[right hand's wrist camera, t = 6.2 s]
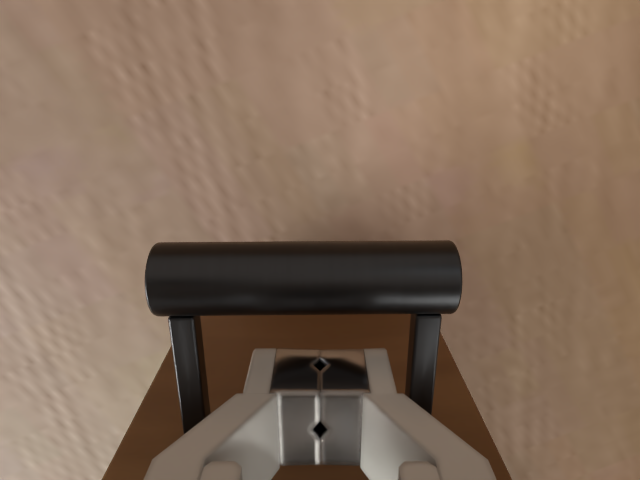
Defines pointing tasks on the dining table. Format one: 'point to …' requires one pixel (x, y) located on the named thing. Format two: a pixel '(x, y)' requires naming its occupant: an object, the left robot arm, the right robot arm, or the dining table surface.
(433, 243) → the drawer
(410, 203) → the dining table surface
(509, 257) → the dining table surface
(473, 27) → the dining table surface
